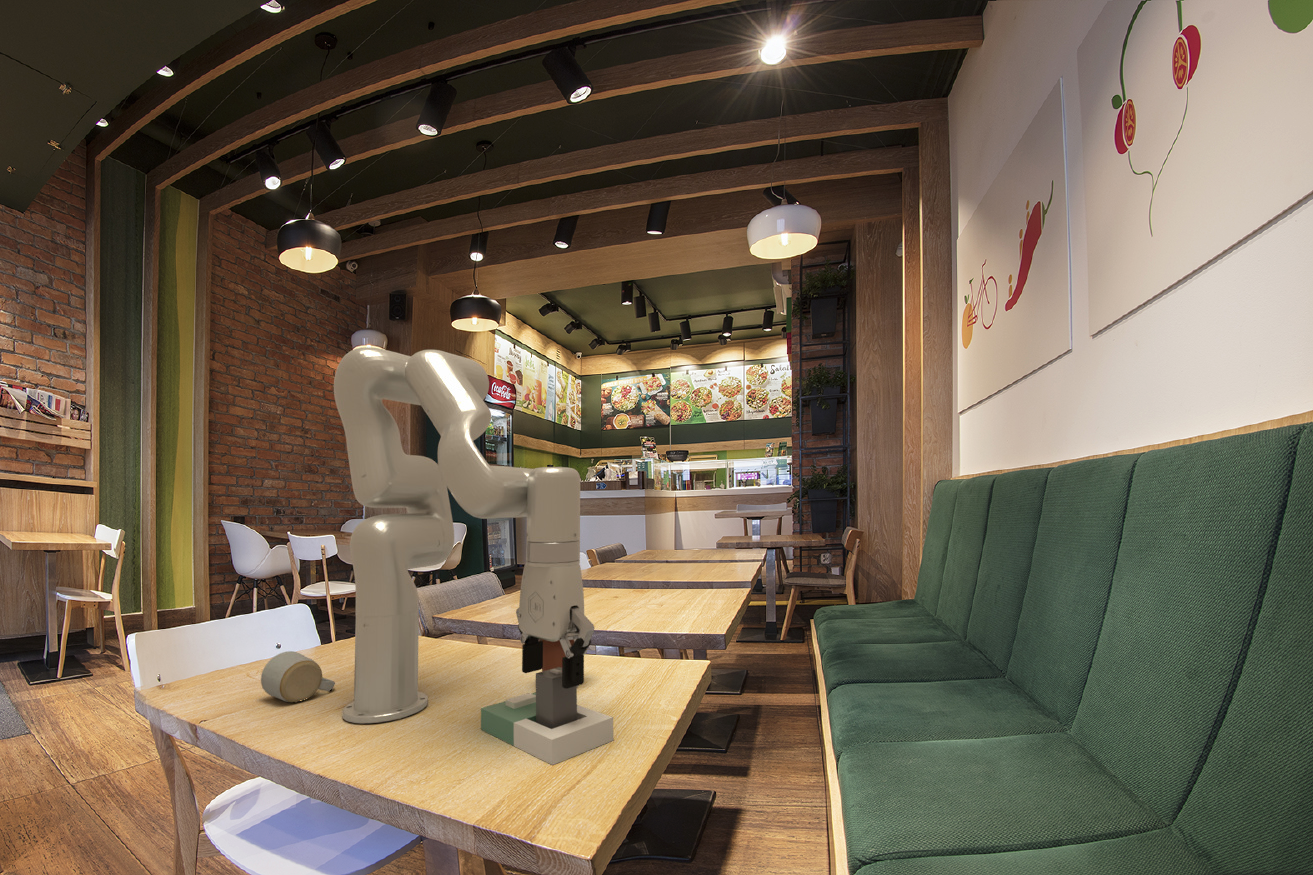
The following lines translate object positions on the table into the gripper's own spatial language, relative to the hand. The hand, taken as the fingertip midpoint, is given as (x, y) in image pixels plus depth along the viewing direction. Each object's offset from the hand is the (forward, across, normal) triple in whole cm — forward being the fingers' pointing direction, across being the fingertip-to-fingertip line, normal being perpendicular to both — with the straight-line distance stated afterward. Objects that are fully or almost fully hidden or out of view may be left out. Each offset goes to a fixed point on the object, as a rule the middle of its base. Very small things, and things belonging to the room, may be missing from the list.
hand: (551, 678), depth 82 cm
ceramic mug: (+10, -51, -18) cm, 55 cm away
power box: (+8, -2, 0) cm, 8 cm away
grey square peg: (+8, +1, 0) cm, 8 cm away
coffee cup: (+9, -19, +15) cm, 26 cm away
